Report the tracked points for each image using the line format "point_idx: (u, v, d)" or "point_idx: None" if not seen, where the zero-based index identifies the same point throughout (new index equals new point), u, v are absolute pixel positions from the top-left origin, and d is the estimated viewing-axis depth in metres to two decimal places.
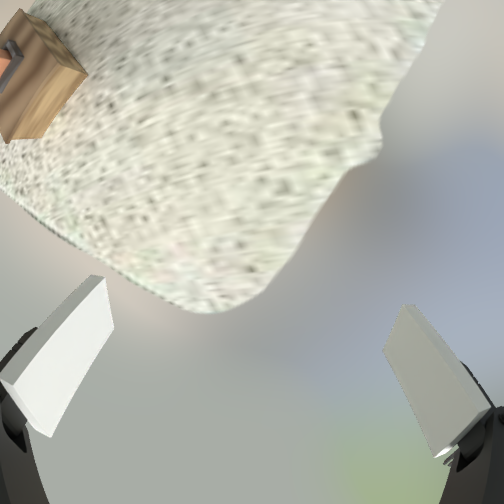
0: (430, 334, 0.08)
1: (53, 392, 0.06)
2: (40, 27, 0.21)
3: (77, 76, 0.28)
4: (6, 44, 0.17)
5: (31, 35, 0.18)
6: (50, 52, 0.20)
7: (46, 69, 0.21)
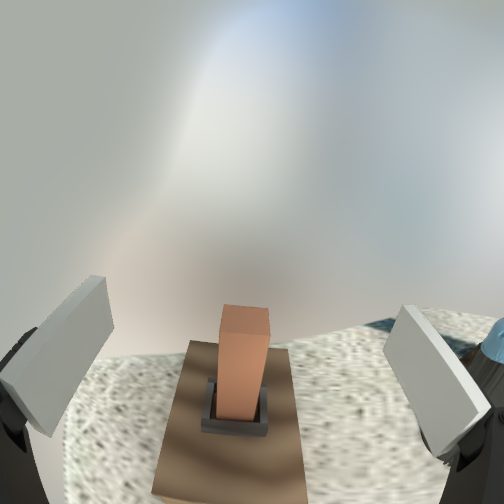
0: (430, 334, 0.08)
1: (53, 392, 0.06)
2: None
3: None
4: (260, 387, 0.29)
5: (290, 417, 0.27)
6: (304, 478, 0.20)
7: (287, 495, 0.17)
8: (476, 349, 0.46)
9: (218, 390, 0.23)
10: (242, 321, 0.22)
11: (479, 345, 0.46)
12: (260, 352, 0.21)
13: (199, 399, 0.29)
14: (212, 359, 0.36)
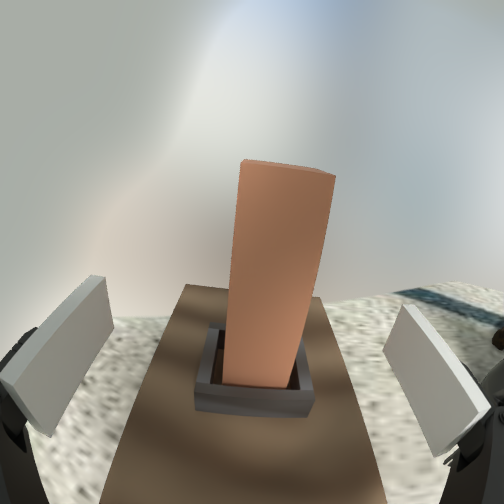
0: (430, 334, 0.08)
1: (53, 392, 0.06)
2: None
3: None
4: None
5: (341, 385, 0.17)
6: (379, 481, 0.10)
7: None
8: None
9: (229, 318, 0.13)
10: (279, 165, 0.12)
11: None
12: (316, 216, 0.11)
13: (194, 358, 0.19)
14: (217, 305, 0.26)
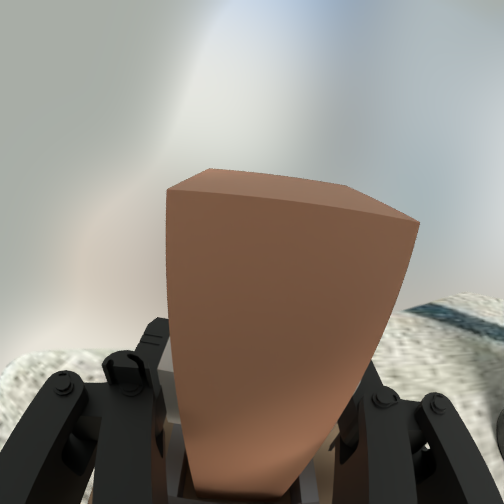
0: None
1: None
2: None
3: None
4: None
5: None
6: None
7: None
8: None
9: (190, 450, 0.06)
10: (277, 185, 0.05)
11: None
12: (363, 319, 0.04)
13: None
14: None
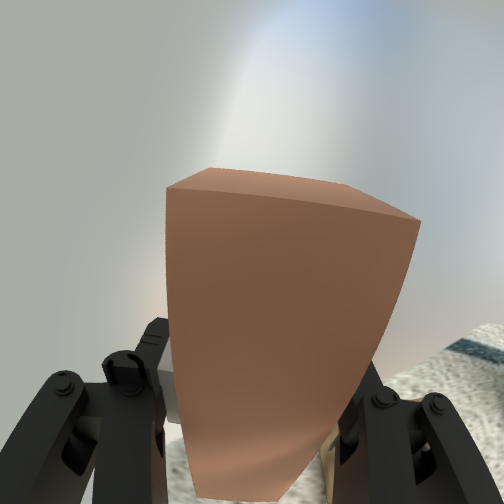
0: None
1: None
2: None
3: None
4: None
5: None
6: None
7: None
8: None
9: (190, 451, 0.06)
10: (278, 183, 0.05)
11: None
12: (364, 318, 0.04)
13: None
14: None
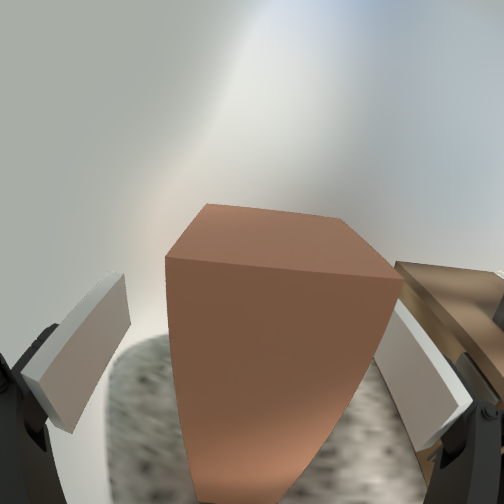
0: (412, 327, 0.09)
1: (75, 387, 0.06)
2: None
3: None
4: None
5: None
6: None
7: None
8: None
9: (192, 463, 0.07)
10: (271, 234, 0.06)
11: None
12: (347, 361, 0.05)
13: None
14: (451, 283, 0.17)
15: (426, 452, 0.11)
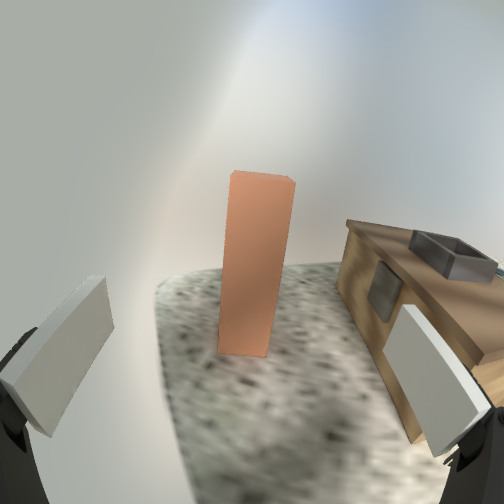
0: (430, 334, 0.08)
1: (53, 392, 0.06)
2: None
3: None
4: (458, 240, 0.22)
5: None
6: None
7: None
8: None
9: (223, 285, 0.19)
10: (258, 175, 0.18)
11: None
12: (282, 211, 0.17)
13: (412, 256, 0.22)
14: (385, 231, 0.29)
15: (371, 339, 0.23)
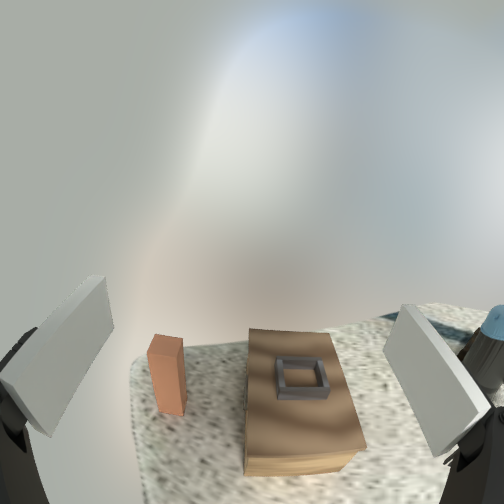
0: (430, 334, 0.08)
1: (53, 392, 0.06)
2: None
3: (339, 466, 0.27)
4: (318, 360, 0.37)
5: (341, 384, 0.35)
6: (360, 428, 0.28)
7: (351, 442, 0.25)
8: (474, 336, 0.54)
9: (154, 388, 0.34)
10: (162, 346, 0.33)
11: (476, 332, 0.55)
12: (173, 367, 0.32)
13: (269, 374, 0.37)
14: (272, 342, 0.44)
15: (246, 412, 0.38)
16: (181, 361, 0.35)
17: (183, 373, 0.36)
